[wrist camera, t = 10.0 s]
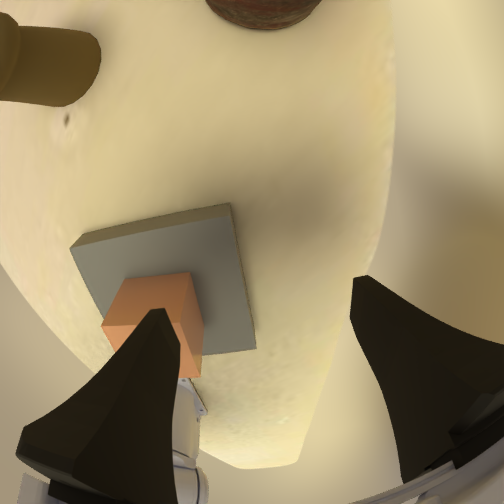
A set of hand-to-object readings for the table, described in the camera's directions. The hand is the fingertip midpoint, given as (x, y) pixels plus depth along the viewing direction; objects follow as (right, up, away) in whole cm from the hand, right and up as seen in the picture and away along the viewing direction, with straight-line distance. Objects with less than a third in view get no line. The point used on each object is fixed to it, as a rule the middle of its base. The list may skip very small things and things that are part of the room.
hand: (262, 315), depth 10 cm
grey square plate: (-7, 0, +12) cm, 14 cm away
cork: (-14, +15, +3) cm, 21 cm away
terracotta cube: (-7, -1, +9) cm, 12 cm away
